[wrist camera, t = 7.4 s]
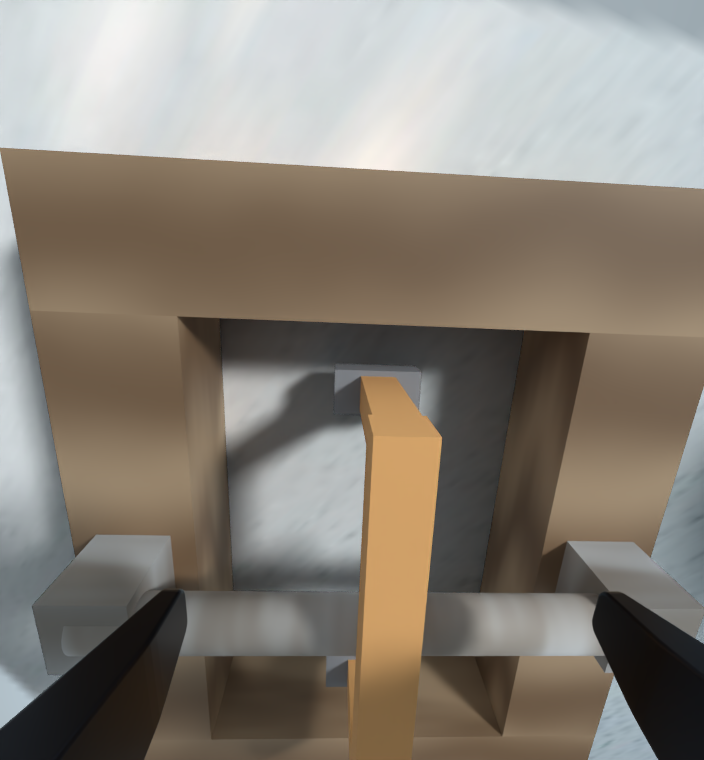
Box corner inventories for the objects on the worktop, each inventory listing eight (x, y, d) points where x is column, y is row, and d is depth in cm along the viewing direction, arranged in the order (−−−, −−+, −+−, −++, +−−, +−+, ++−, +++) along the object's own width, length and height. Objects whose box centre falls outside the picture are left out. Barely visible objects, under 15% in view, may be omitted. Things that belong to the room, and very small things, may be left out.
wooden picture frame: (532, 702, 21) (622, 902, 15) (162, 704, 20) (76, 920, 14) (650, 212, 14) (924, 164, 8) (96, 182, 13) (-146, 96, 7)
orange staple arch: (392, 660, 18) (427, 889, 11) (326, 660, 17) (319, 892, 11) (414, 365, 15) (482, 428, 8) (335, 363, 14) (333, 425, 8)
